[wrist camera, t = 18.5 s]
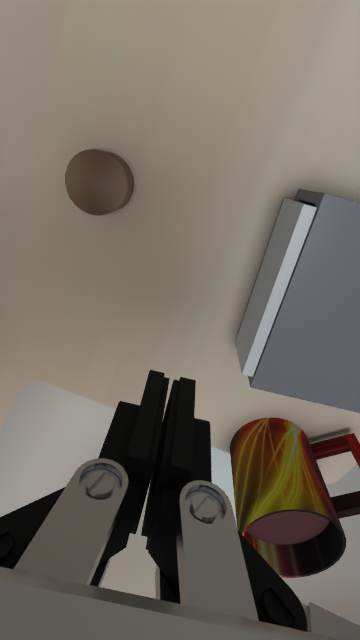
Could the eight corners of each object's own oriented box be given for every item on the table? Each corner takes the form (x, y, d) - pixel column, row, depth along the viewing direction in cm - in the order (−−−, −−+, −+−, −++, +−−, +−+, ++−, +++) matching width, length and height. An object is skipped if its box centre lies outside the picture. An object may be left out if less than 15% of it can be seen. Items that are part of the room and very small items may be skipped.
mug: (354, 430, 40) (410, 526, 29) (266, 488, 45) (286, 590, 34) (300, 382, 38) (339, 466, 27) (214, 448, 43) (217, 543, 32)
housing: (242, 350, 37) (250, 387, 31) (298, 189, 30) (324, 193, 24) (365, 379, 37) (398, 421, 31) (448, 227, 31) (512, 241, 24)
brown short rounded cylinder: (76, 203, 32) (62, 207, 29) (82, 145, 30) (68, 142, 27) (128, 216, 32) (120, 221, 29) (138, 159, 30) (130, 158, 27)
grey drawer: (235, 341, 36) (241, 374, 30) (284, 198, 30) (303, 204, 24) (355, 369, 37) (385, 407, 31) (426, 234, 31) (479, 248, 25)
